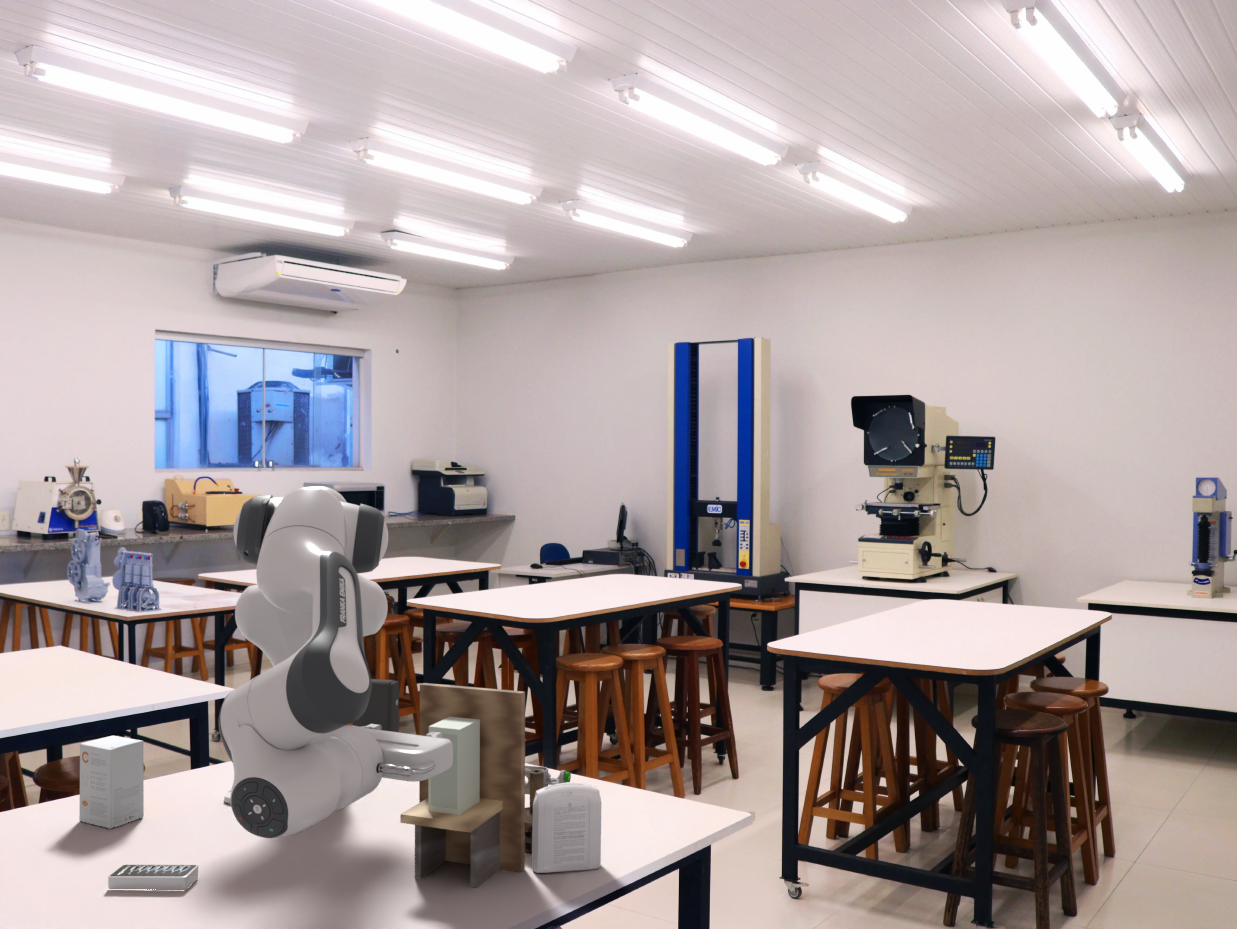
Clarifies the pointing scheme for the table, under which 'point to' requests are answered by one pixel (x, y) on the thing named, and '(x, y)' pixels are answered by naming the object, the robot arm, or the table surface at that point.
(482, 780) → the wooden toy chair
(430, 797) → the sage cabinet
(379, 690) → the dark grey upright block
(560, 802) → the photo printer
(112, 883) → the multiport hub
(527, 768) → the mechanical component
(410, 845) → the table surface
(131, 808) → the small box
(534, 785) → the industrial component
